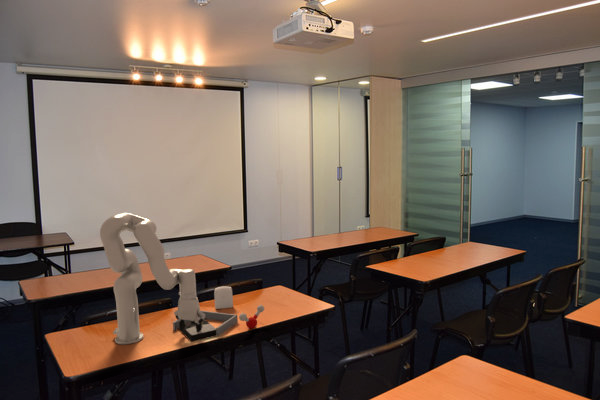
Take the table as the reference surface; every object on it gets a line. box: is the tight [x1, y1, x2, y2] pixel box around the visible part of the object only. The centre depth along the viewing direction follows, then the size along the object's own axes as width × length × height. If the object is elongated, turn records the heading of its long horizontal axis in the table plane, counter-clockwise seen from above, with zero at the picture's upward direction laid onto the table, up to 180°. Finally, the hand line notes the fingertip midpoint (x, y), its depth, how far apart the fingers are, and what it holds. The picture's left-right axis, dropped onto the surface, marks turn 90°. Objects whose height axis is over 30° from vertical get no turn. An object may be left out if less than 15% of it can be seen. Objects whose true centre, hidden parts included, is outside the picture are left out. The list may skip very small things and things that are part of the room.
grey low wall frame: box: [172, 309, 239, 337], centre depth 220 cm, size 26×19×4 cm
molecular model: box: [238, 304, 265, 330], centre depth 215 cm, size 18×6×10 cm, turn 154°
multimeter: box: [178, 319, 217, 343], centre depth 212 cm, size 13×19×5 cm
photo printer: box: [213, 285, 234, 310], centre depth 247 cm, size 10×4×12 cm, turn 99°
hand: (190, 330), depth 207 cm, fingers open, 9 cm apart
